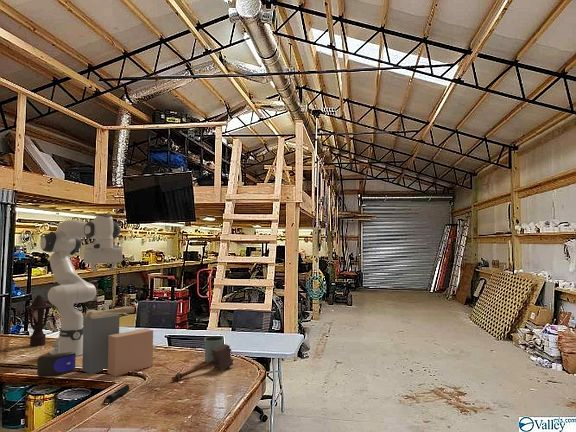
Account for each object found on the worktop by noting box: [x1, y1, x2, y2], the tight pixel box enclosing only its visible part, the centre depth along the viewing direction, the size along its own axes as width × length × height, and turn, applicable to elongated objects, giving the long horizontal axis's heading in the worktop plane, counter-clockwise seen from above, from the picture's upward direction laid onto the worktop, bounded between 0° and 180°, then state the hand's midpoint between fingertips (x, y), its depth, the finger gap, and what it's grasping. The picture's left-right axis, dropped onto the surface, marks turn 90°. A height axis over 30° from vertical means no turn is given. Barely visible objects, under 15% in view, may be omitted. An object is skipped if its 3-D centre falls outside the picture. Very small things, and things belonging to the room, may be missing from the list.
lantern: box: [25, 294, 53, 347], centre depth 263 cm, size 15×15×30 cm
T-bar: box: [85, 306, 136, 319], centre depth 220 cm, size 7×23×3 cm, turn 140°
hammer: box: [171, 343, 234, 382], centre depth 207 cm, size 7×33×10 cm, turn 136°
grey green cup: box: [203, 335, 224, 364], centre depth 228 cm, size 10×10×12 cm
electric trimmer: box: [102, 384, 130, 405], centre depth 177 cm, size 4×16×3 cm, turn 170°
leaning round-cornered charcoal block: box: [36, 352, 77, 378], centre depth 207 cm, size 16×5×9 cm, turn 123°
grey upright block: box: [81, 314, 121, 375], centre depth 215 cm, size 9×14×26 cm, turn 140°
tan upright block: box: [107, 328, 154, 377], centre depth 214 cm, size 7×20×18 cm, turn 140°
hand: (103, 271), depth 226 cm, fingers open, 8 cm apart
